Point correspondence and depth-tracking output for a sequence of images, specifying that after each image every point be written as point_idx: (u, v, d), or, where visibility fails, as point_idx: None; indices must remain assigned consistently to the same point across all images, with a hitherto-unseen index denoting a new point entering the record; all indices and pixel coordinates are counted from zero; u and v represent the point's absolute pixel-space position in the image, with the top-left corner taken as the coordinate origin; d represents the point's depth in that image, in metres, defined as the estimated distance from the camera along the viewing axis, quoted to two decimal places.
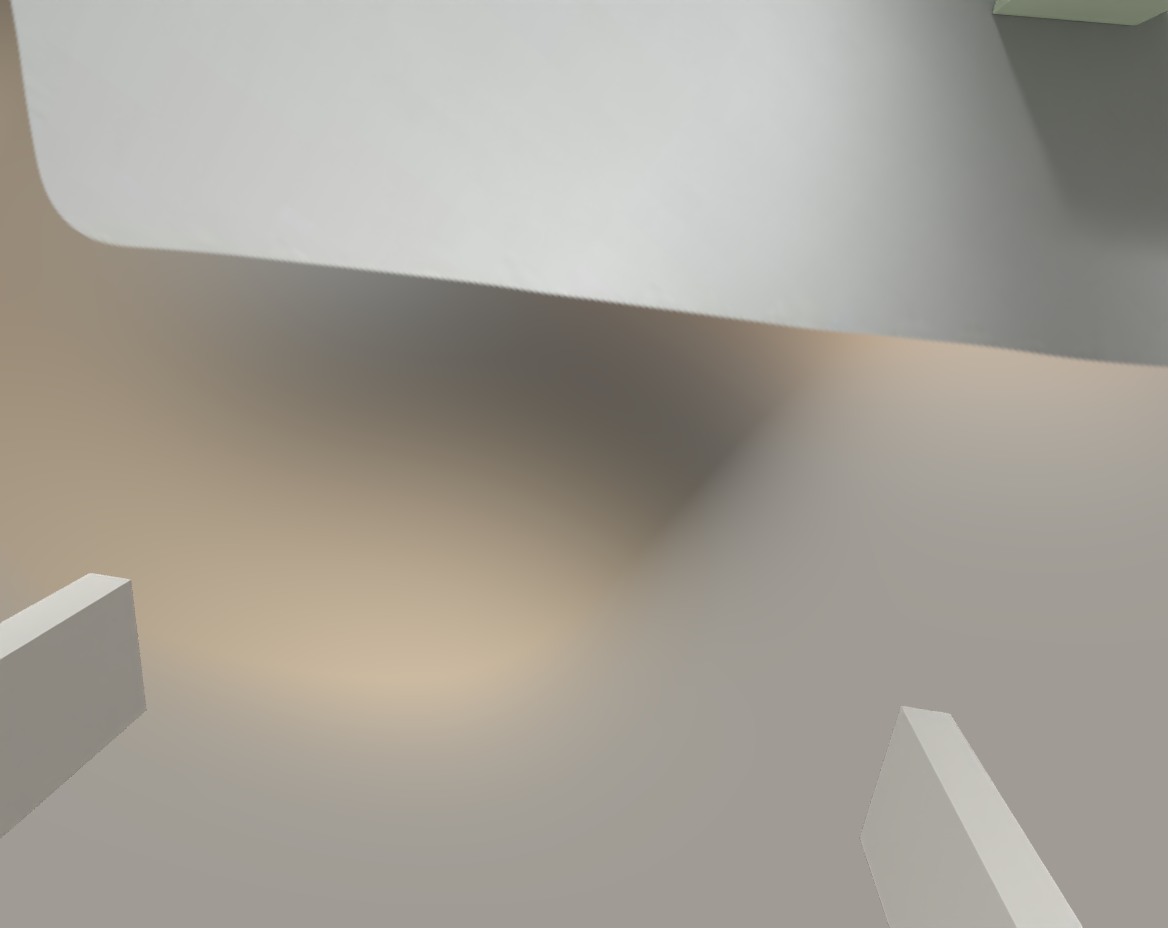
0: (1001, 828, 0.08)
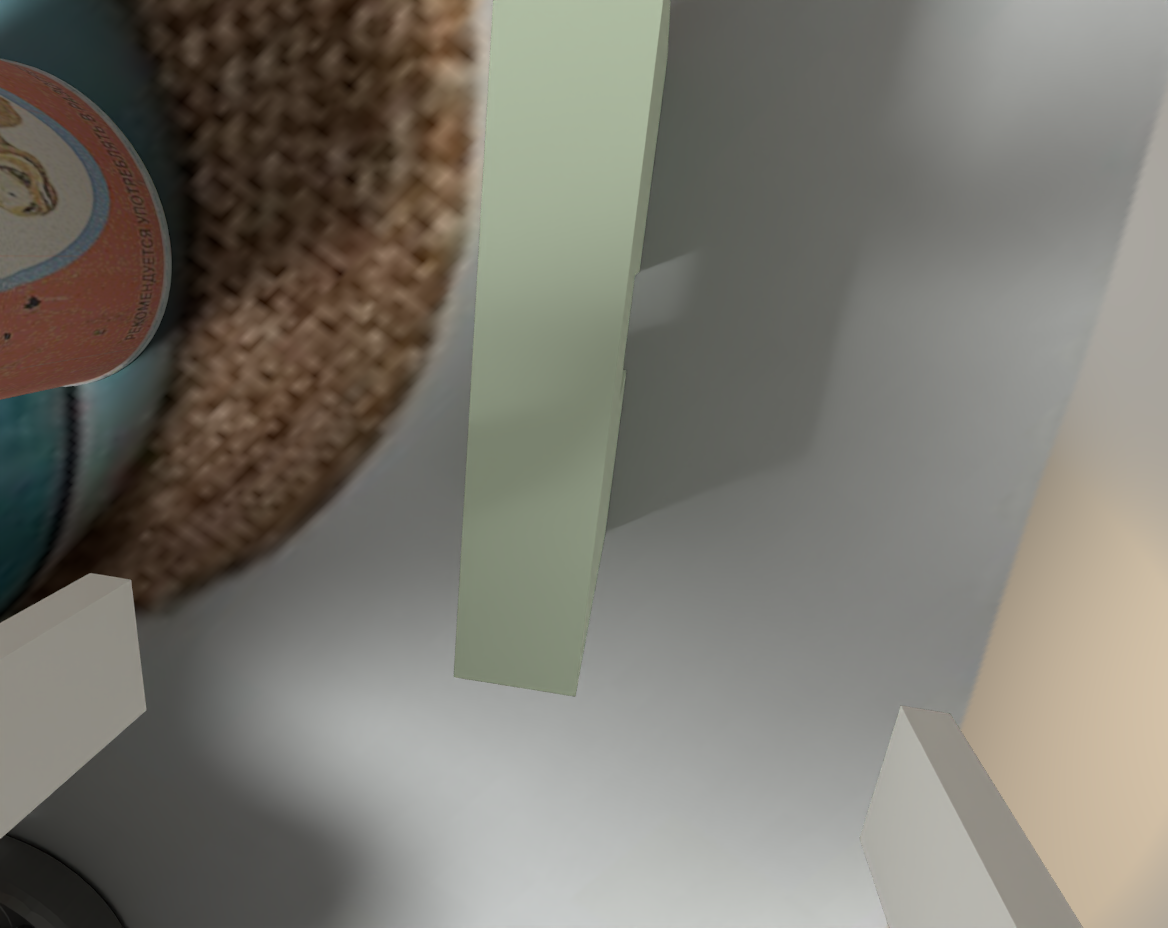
0: (1001, 828, 0.08)
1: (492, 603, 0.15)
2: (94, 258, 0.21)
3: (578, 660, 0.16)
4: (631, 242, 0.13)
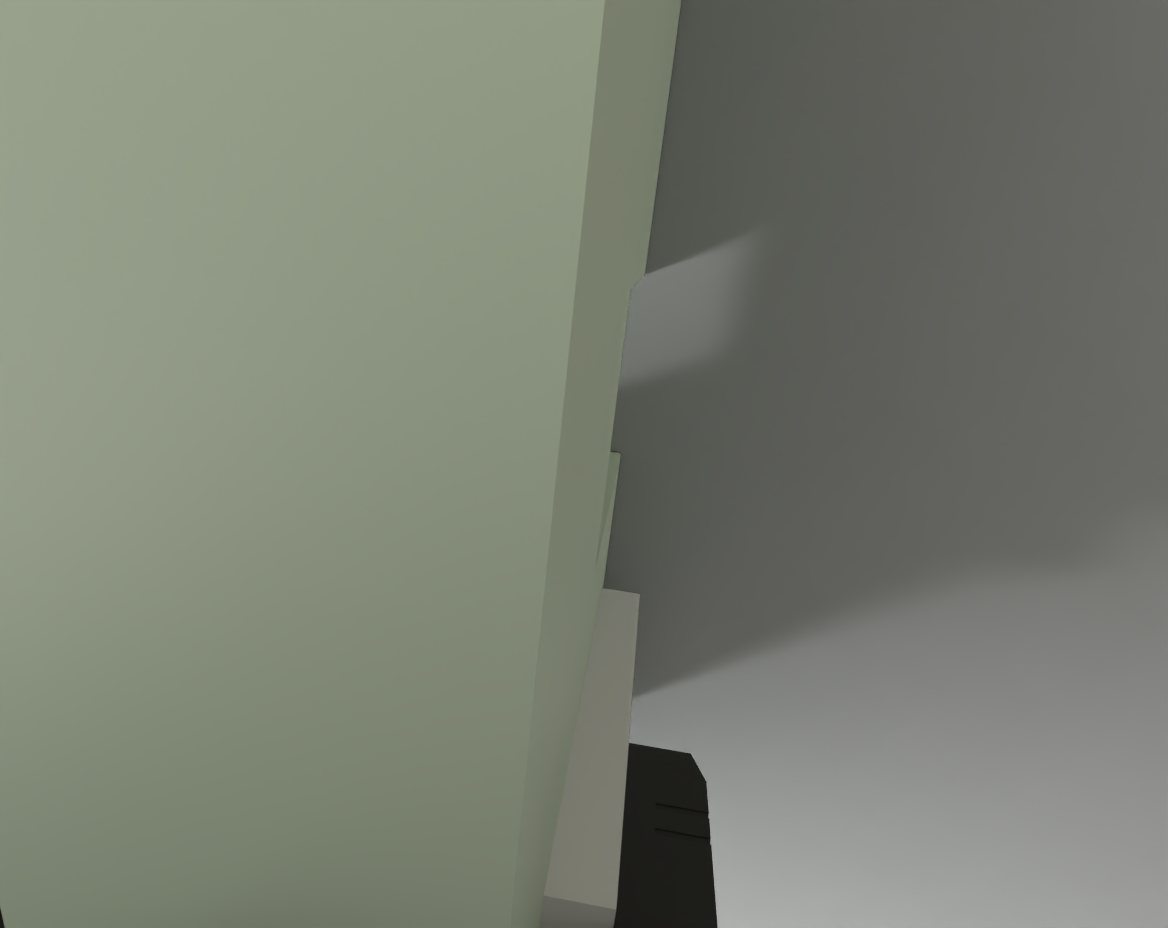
0: (618, 658, 0.11)
1: None
2: None
3: None
4: (583, 143, 0.02)
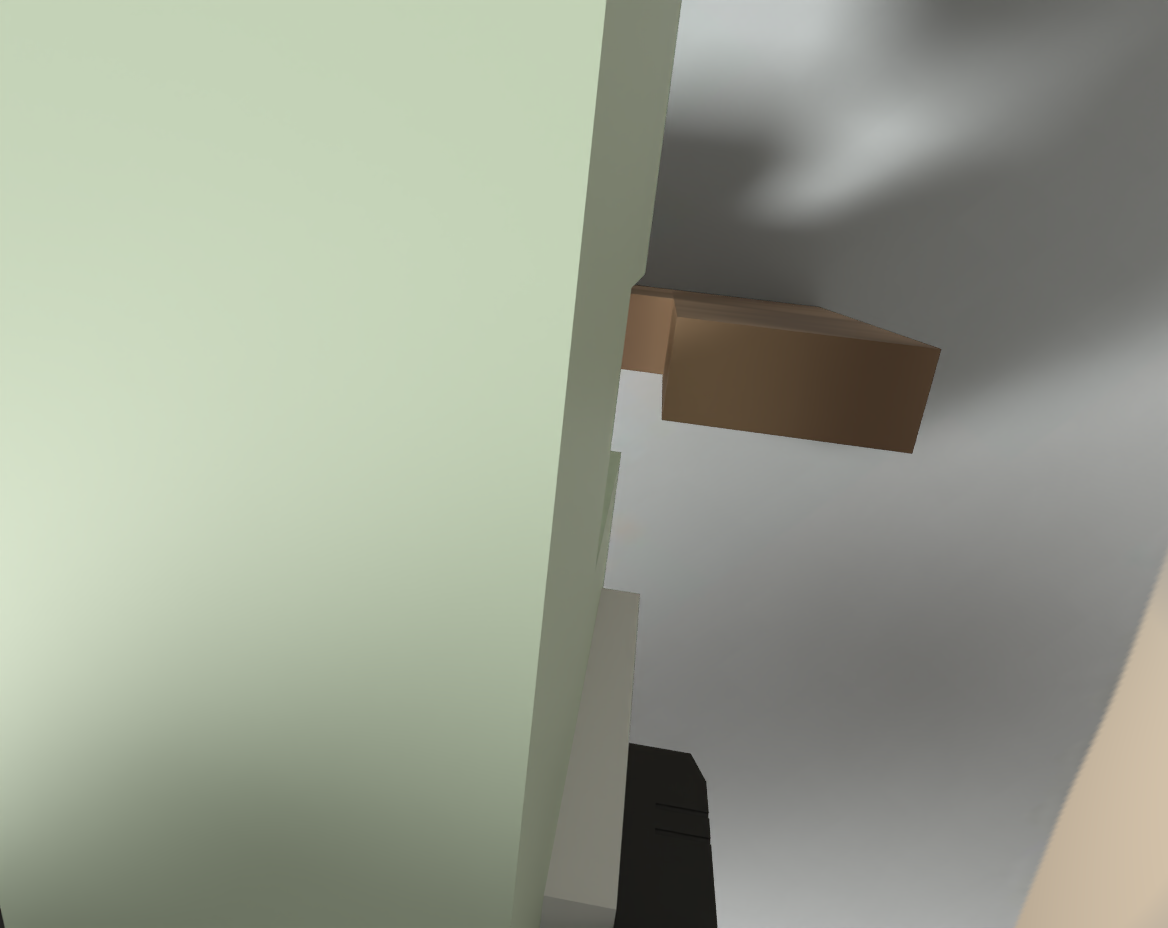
0: (618, 658, 0.11)
1: None
2: None
3: None
4: (585, 138, 0.02)
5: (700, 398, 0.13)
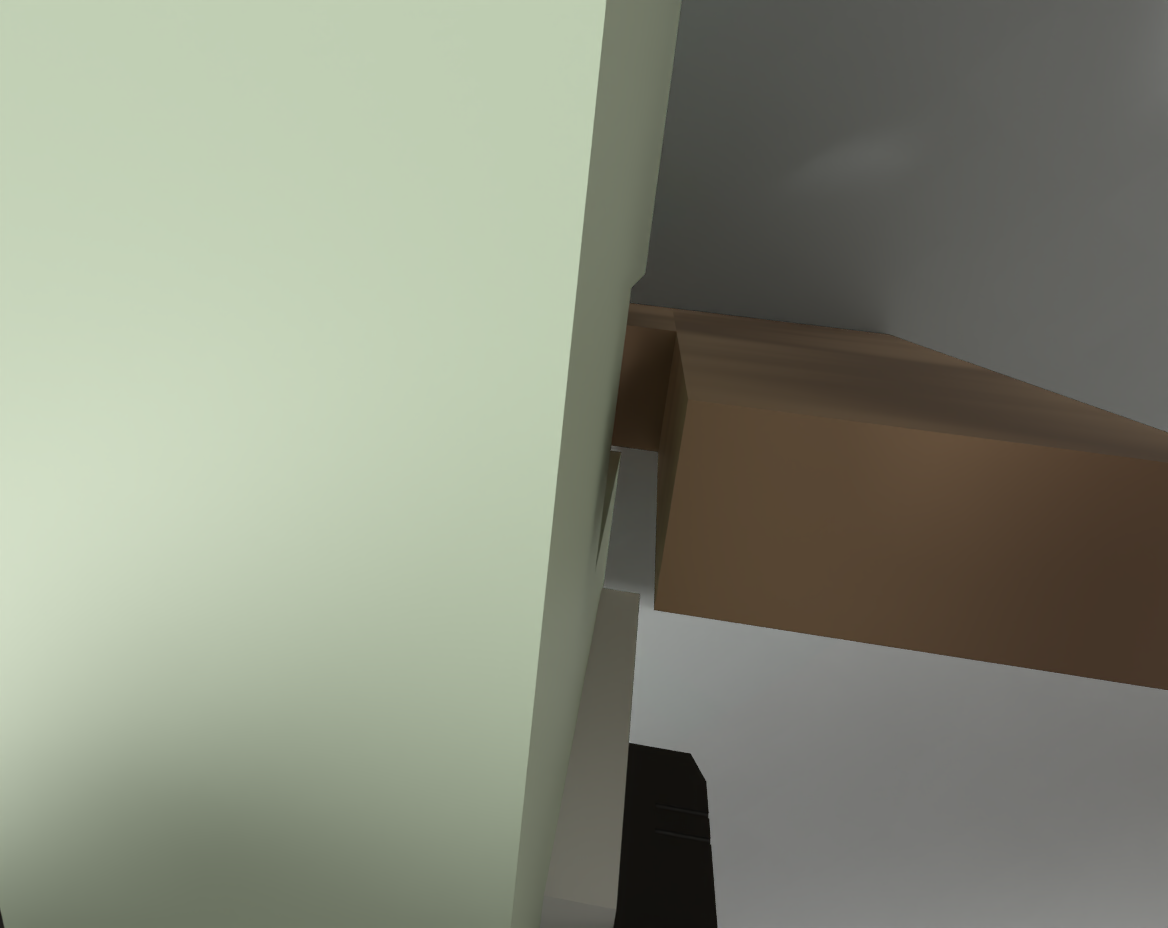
0: (618, 658, 0.11)
1: None
2: None
3: None
4: (586, 137, 0.02)
5: (738, 570, 0.06)
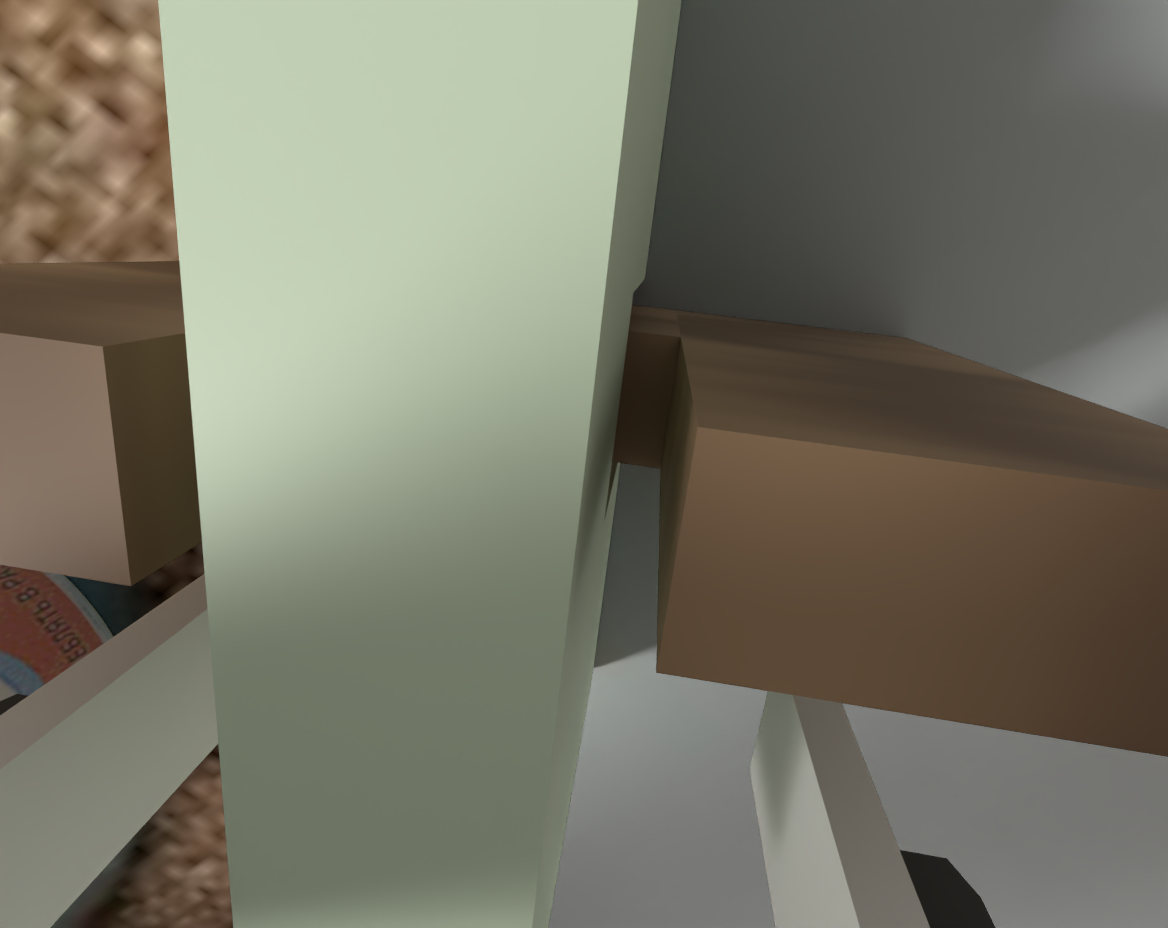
0: (838, 739, 0.09)
1: None
2: None
3: None
4: (610, 216, 0.04)
5: (757, 627, 0.05)
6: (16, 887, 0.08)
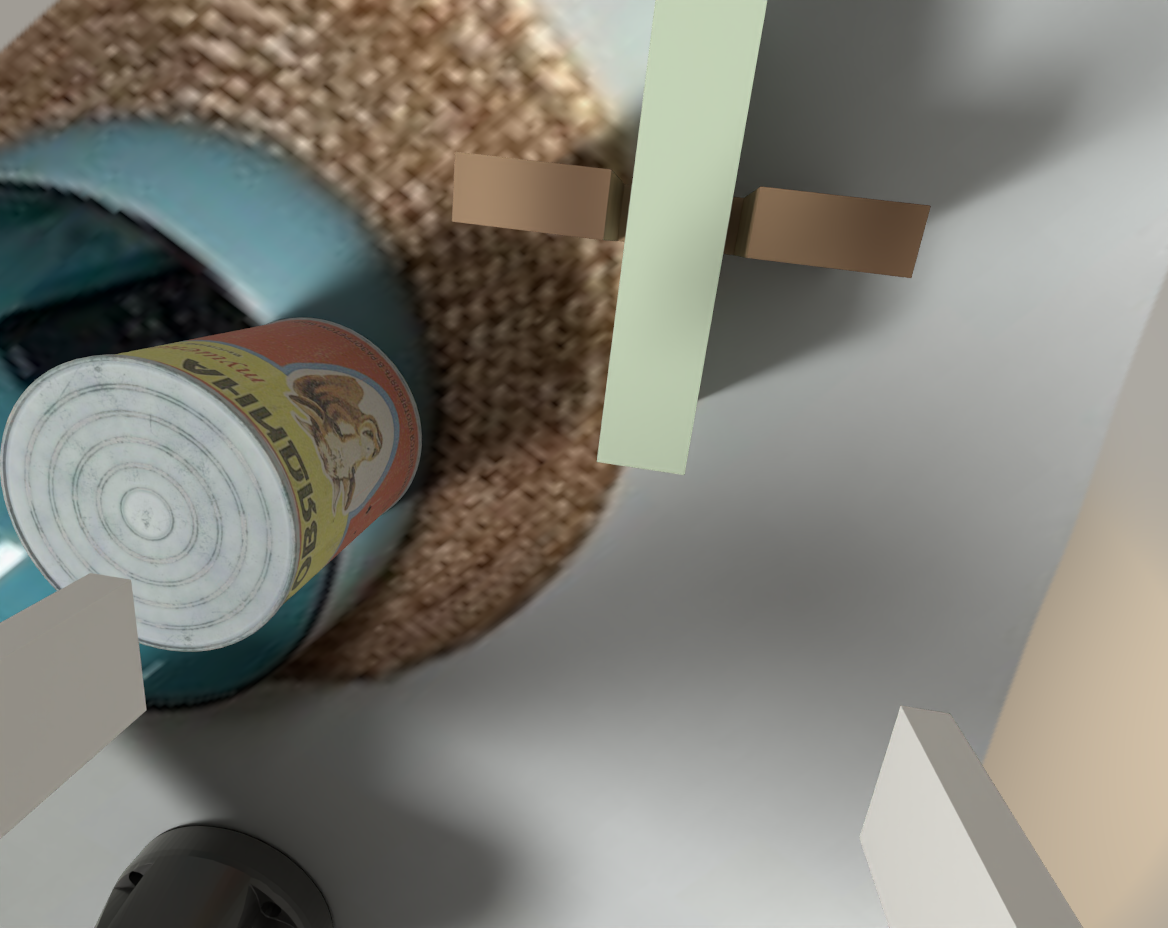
0: (1001, 828, 0.08)
1: (629, 403, 0.22)
2: (393, 468, 0.31)
3: (688, 446, 0.22)
4: (743, 135, 0.19)
5: (773, 242, 0.20)
6: None
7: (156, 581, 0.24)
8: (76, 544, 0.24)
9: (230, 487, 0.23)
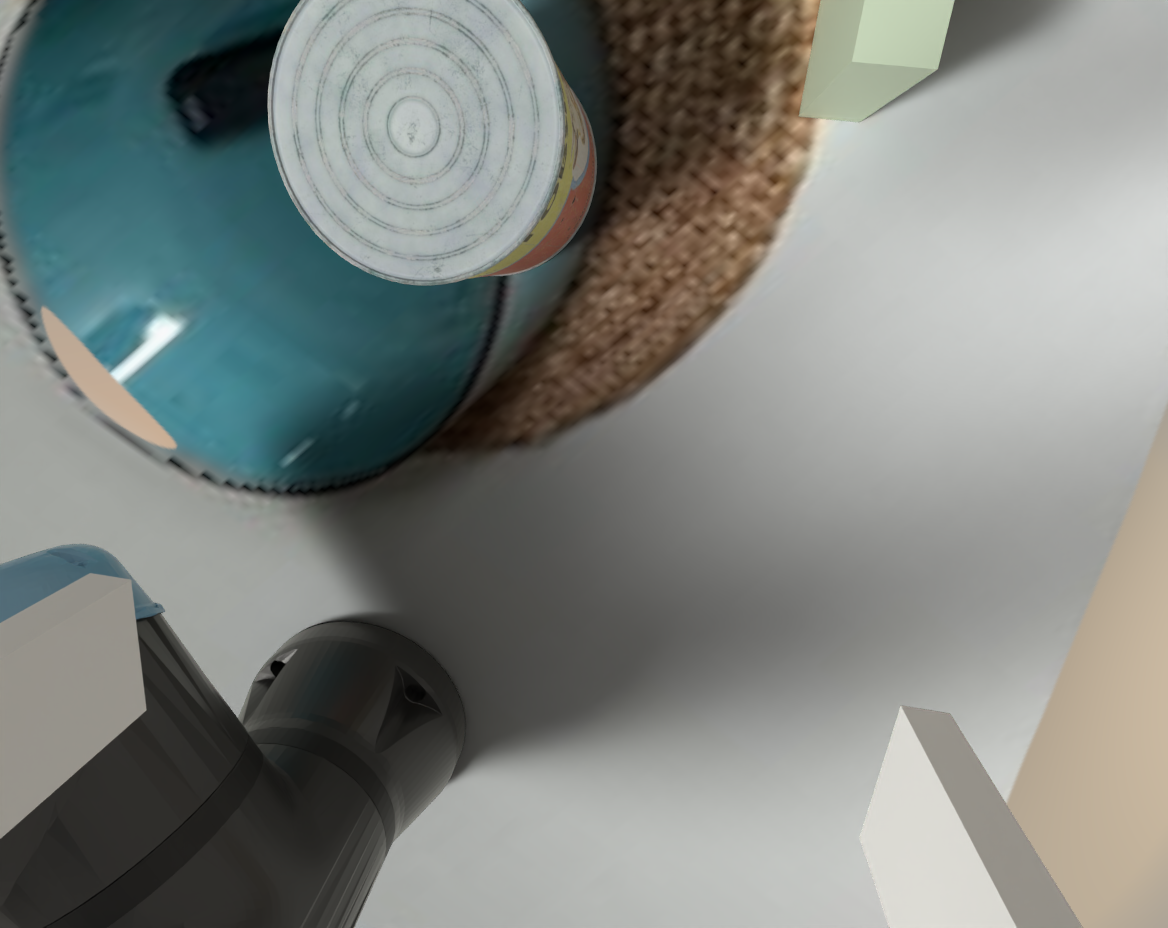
0: (1001, 828, 0.08)
1: None
2: (586, 176, 0.32)
3: (944, 36, 0.23)
4: None
5: None
6: None
7: (413, 205, 0.25)
8: (335, 169, 0.25)
9: (502, 87, 0.24)
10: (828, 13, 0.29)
